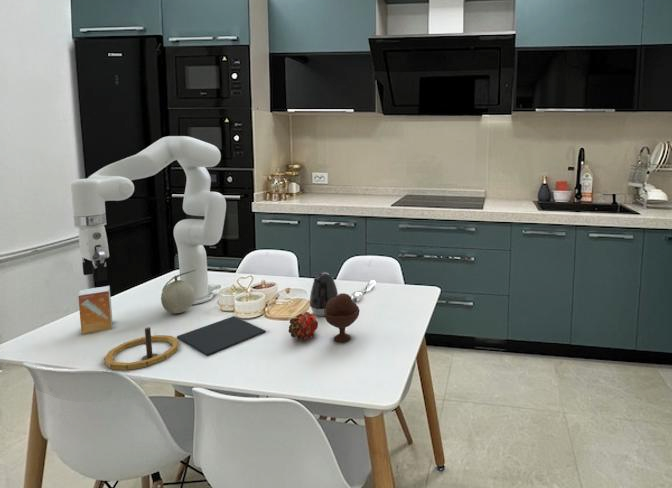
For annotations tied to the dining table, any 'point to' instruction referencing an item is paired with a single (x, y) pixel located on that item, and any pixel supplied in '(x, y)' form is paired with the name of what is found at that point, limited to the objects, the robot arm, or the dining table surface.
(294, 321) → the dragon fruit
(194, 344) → the mat
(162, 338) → the ring
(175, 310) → the fruit
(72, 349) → the dining table surface
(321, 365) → the dining table surface
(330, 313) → the ice cream bowl
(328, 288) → the dark grey tall dome
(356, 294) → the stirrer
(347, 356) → the dining table surface
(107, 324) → the small box
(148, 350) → the post
